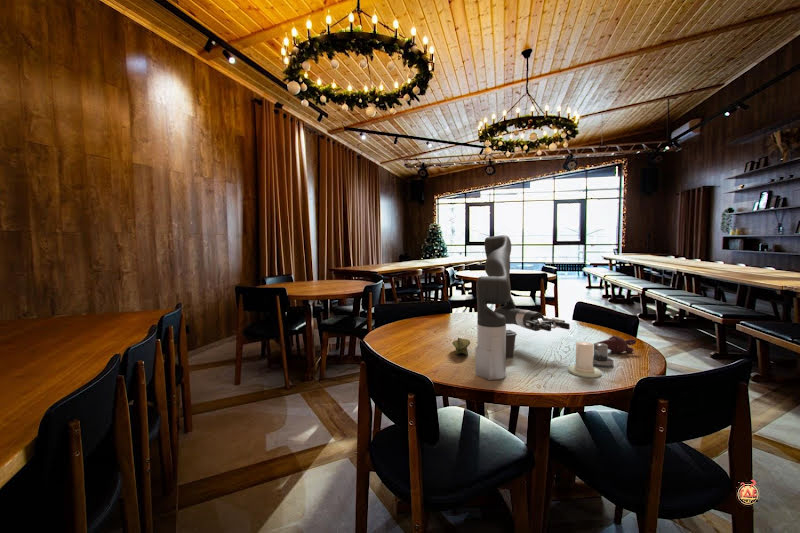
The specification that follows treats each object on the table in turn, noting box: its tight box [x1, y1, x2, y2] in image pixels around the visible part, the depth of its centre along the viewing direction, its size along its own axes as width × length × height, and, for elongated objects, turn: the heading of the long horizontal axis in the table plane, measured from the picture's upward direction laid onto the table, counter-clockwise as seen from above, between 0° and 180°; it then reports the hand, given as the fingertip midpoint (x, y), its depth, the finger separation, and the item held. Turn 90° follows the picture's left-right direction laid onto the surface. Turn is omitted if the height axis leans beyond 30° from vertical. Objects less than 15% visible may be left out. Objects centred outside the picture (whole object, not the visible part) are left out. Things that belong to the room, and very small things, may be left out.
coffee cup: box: [506, 329, 518, 359], centre depth 135 cm, size 8×8×10 cm
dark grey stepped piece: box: [593, 342, 614, 368], centre depth 125 cm, size 8×8×7 cm
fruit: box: [451, 337, 471, 356], centre depth 139 cm, size 11×12×7 cm
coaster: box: [567, 364, 602, 379], centre depth 117 cm, size 10×10×1 cm
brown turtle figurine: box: [596, 335, 637, 355], centre depth 137 cm, size 7×7×15 cm
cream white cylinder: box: [573, 341, 595, 373], centre depth 117 cm, size 6×6×9 cm
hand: (559, 327), depth 126 cm, fingers open, 8 cm apart
